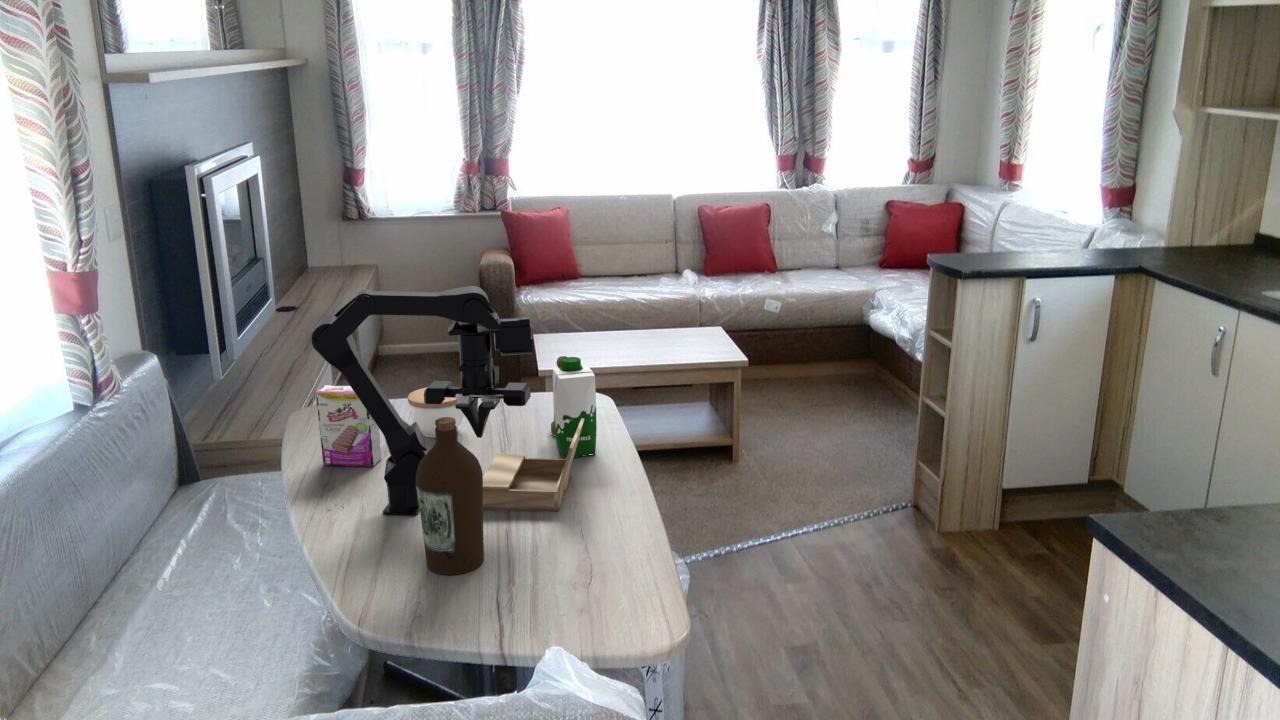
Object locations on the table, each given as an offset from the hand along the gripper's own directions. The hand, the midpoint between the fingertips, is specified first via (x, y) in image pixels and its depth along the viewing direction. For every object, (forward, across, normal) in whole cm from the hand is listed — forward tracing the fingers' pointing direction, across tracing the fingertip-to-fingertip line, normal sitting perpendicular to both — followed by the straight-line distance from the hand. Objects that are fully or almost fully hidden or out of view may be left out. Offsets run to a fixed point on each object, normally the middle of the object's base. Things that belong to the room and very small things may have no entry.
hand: (480, 436), depth 177 cm
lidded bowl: (+13, +19, -36) cm, 43 cm away
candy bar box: (+13, +32, -17) cm, 39 cm away
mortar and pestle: (+13, -10, -37) cm, 40 cm away
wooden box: (+13, -8, -4) cm, 15 cm away
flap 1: (+9, -3, -4) cm, 10 cm away
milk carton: (+13, -14, -26) cm, 32 cm away
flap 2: (+4, -16, -4) cm, 17 cm away
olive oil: (+13, -1, +24) cm, 27 cm away
